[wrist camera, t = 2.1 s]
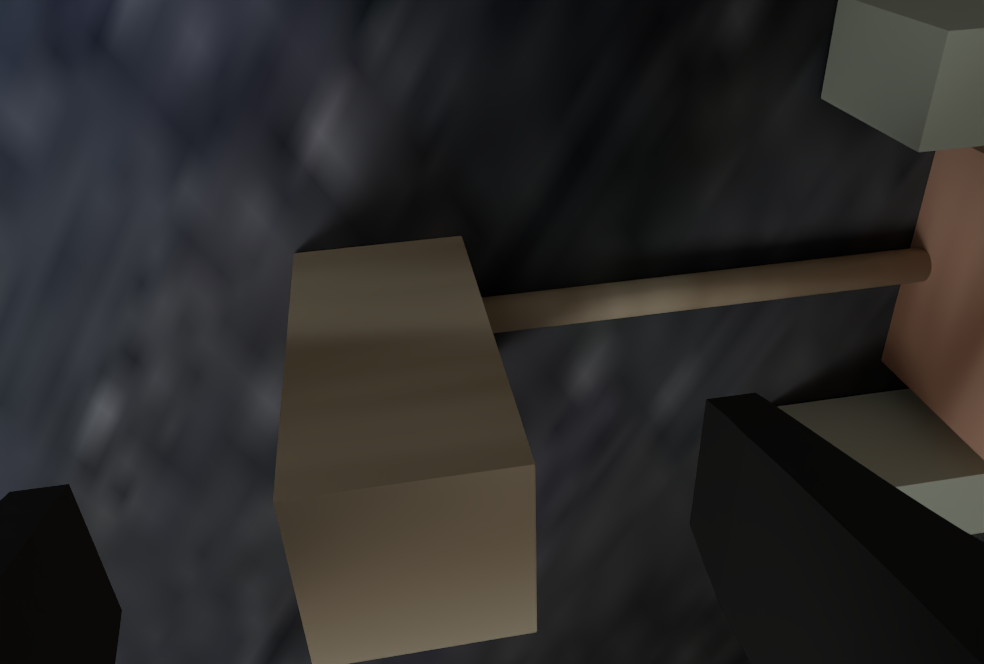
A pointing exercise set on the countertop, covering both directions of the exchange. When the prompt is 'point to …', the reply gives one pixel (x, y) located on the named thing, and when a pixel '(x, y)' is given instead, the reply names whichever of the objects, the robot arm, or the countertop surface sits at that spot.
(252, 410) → the countertop surface
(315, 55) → the countertop surface
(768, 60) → the countertop surface
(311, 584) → the corded block
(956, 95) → the pale green u-shape
